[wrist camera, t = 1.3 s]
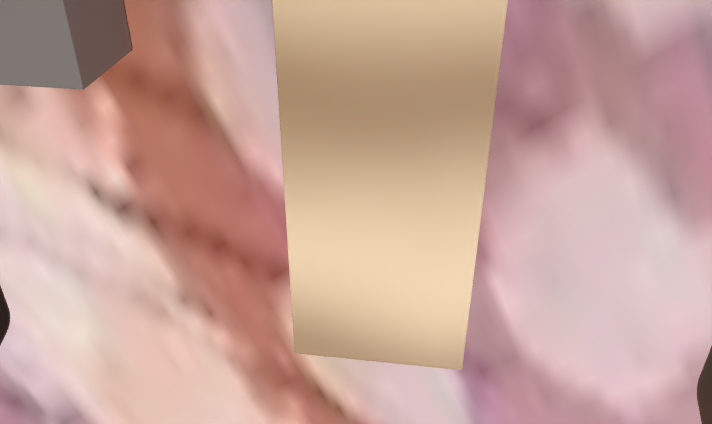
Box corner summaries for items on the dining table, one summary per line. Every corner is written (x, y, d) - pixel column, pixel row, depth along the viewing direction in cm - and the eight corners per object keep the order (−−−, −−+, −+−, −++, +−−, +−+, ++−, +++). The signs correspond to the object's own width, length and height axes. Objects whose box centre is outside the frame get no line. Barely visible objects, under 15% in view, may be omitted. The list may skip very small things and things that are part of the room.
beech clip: (462, 219, 21) (462, 370, 16) (337, 209, 22) (294, 353, 16) (511, -239, 15) (538, -252, 9) (331, -240, 15) (256, -251, 10)
